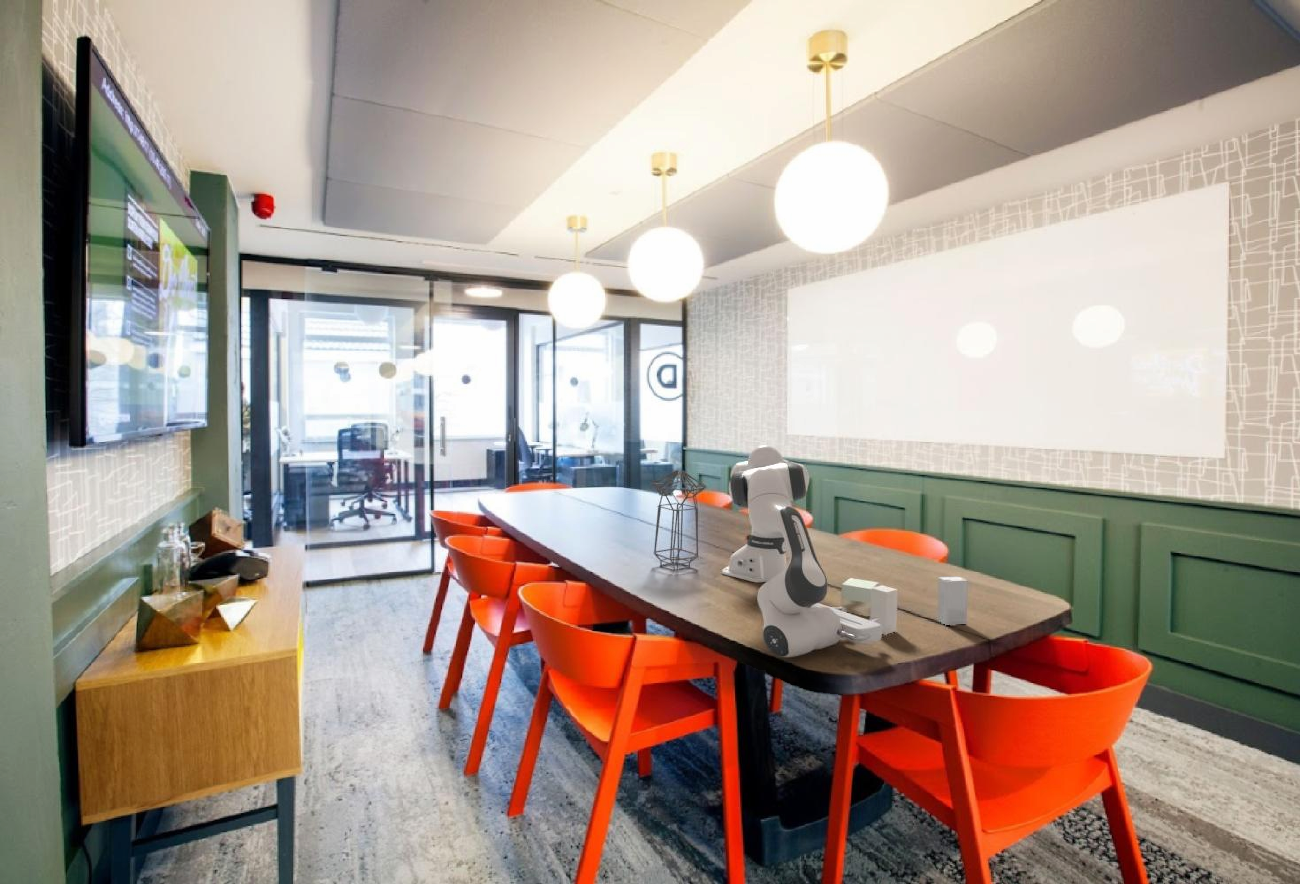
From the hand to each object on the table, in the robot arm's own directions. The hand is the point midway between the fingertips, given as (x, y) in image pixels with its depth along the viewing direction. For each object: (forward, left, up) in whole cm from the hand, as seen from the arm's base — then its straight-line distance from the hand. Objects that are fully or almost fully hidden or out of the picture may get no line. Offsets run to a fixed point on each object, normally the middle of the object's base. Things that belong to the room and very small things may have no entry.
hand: (859, 616), depth 154 cm
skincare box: (+16, +26, -6) cm, 31 cm away
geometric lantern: (-74, +31, -6) cm, 80 cm away
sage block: (-7, +22, -2) cm, 23 cm away
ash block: (-7, +22, -6) cm, 24 cm away
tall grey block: (+3, +9, -6) cm, 11 cm away
